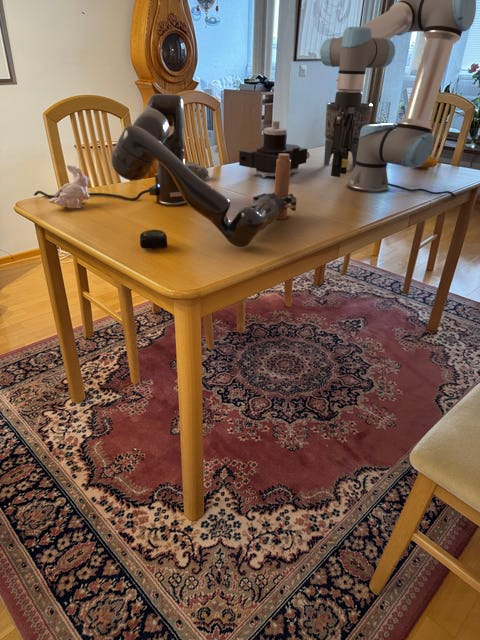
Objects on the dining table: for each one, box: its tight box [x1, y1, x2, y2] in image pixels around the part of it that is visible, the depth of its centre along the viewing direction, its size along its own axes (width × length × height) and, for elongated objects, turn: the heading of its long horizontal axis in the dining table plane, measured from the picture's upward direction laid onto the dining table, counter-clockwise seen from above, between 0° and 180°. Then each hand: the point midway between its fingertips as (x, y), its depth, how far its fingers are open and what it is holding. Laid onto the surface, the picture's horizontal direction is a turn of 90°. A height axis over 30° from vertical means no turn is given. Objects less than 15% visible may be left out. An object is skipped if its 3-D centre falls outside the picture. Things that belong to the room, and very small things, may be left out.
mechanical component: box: [238, 120, 311, 178], centre depth 191 cm, size 22×21×30 cm
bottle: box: [274, 153, 291, 220], centre depth 138 cm, size 4×4×19 cm
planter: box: [323, 101, 374, 167], centre depth 204 cm, size 20×20×26 cm
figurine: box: [48, 164, 91, 209], centre depth 145 cm, size 8×15×13 cm, turn 145°
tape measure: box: [139, 229, 168, 250], centre depth 117 cm, size 7×7×4 cm
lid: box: [331, 158, 349, 168], centre depth 139 cm, size 5×5×2 cm
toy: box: [419, 154, 439, 169], centre depth 213 cm, size 11×6×15 cm
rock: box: [185, 160, 210, 180], centre depth 181 cm, size 13×9×6 cm, turn 131°
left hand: (283, 195), depth 142 cm, fingers closed on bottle, 4 cm apart
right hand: (338, 174), depth 141 cm, fingers closed on lid, 5 cm apart
